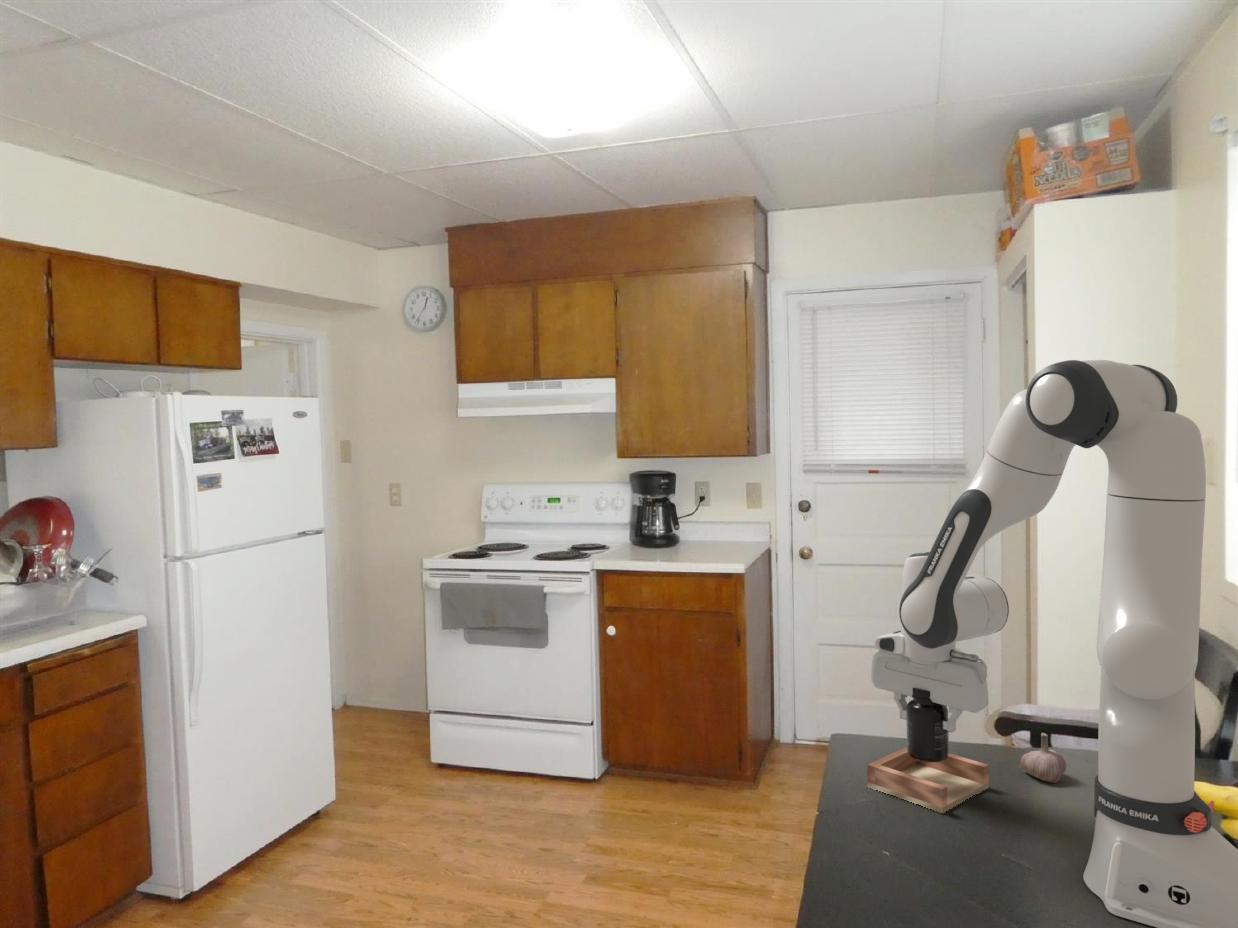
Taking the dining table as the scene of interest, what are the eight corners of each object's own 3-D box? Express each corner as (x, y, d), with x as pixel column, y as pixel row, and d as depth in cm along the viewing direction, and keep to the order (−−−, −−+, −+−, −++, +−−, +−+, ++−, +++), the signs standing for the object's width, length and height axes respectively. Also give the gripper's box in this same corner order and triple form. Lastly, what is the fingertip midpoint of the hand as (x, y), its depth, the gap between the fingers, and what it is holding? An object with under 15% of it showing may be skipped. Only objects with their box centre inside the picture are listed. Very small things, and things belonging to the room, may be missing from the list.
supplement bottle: (943, 748, 156) (943, 681, 156) (953, 764, 150) (953, 693, 149) (902, 747, 157) (902, 680, 156) (911, 763, 150) (911, 693, 150)
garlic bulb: (1063, 789, 152) (1064, 743, 152) (1016, 780, 156) (1017, 735, 156) (1068, 773, 159) (1068, 729, 158) (1023, 765, 163) (1023, 722, 162)
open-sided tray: (988, 787, 153) (988, 764, 153) (942, 814, 143) (942, 789, 143) (915, 764, 164) (914, 743, 164) (867, 787, 154) (867, 764, 154)
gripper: (996, 653, 146) (995, 736, 147) (886, 631, 162) (886, 706, 163) (976, 660, 142) (975, 746, 143) (866, 637, 158) (866, 714, 159)
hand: (927, 724), depth 153 cm, fingers closed on supplement bottle, 7 cm apart
